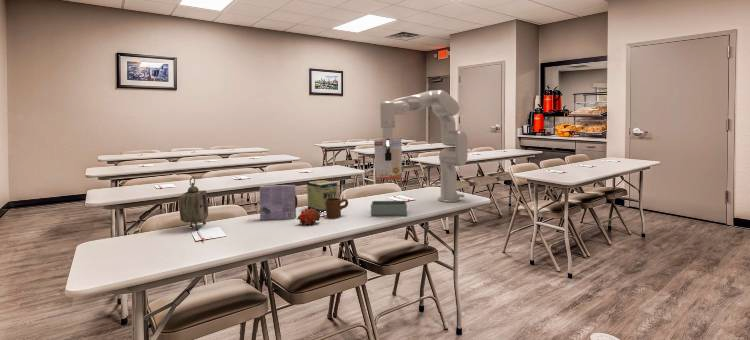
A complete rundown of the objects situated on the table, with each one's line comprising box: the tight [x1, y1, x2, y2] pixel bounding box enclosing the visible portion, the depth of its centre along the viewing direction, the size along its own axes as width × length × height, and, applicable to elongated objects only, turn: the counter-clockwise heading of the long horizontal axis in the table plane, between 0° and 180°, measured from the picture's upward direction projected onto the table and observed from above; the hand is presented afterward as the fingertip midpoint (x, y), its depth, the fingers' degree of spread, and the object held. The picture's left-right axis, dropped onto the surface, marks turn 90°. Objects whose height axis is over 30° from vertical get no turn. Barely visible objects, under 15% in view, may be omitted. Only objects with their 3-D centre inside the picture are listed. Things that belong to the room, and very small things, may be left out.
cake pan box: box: [259, 184, 298, 221], centre depth 225 cm, size 19×5×18 cm, turn 100°
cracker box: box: [374, 138, 403, 180], centre depth 228 cm, size 14×6×21 cm, turn 84°
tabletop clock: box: [178, 176, 209, 230], centre depth 210 cm, size 14×9×25 cm, turn 5°
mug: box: [325, 197, 349, 219], centre depth 228 cm, size 12×8×9 cm, turn 110°
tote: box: [370, 200, 408, 217], centre depth 231 cm, size 19×11×6 cm, turn 86°
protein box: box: [306, 179, 338, 213], centre depth 245 cm, size 10×16×16 cm
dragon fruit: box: [296, 208, 321, 226], centre depth 214 cm, size 8×8×12 cm
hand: (388, 159), depth 228 cm, fingers closed on cracker box, 6 cm apart
